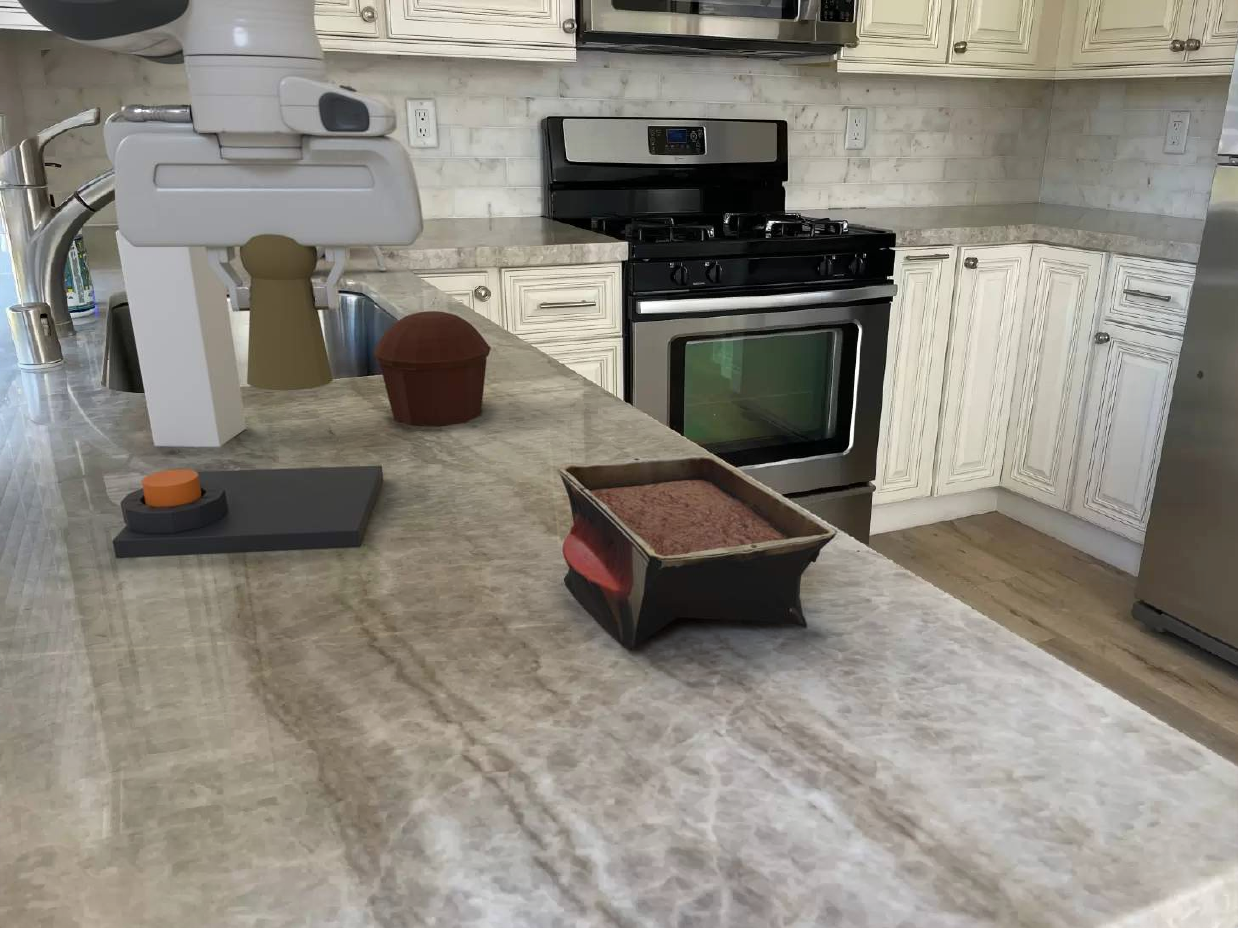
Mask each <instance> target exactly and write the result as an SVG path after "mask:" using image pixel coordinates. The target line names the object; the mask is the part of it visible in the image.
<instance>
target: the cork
mask: <svg viewBox="0 0 1238 928" xmlns="http://www.w3.org/2000/svg"><path fill="white" fill-rule="evenodd" d="M239 257H240V261H241V264H242V268H243V269H244V270H245V271H246V272H247V274H248V275H249V276H250V283H251V288H250V311H249V317H248V318H249V319H248V320H249V323H248V344H247V345H248V347H247V348H248V350H247V373H246V374H247V375H246V376H247V377H246V384H247V385H248V386H250V387H253V388H257V389H259V390H260V389H261V390H267V391H301V390H311V389H315V388H320V387H324V386H326V385H329V384H331V383H332V382H333V381H334V380H333V374H332V369H331V364H330V361H329V360H330V359H329V355H328V351H327V347H326V342H325V337H324V332H323V327H322V323H321V318H320V313H319V310H316V309H315V303H314V302H315V300H316V298H315V297H314V295H313V286H314V285H313V281H312V275H313V274H314V272H315V270H316V268H317V264H318V261H319V260H318V259H317V249H316V246H303V245H300V244H299V243H297V242H296V241H295V240H294V239H293V238H290V237H286V236H283V235H274V234H263V235H258V236H254V237H252V238H251V239H250V240H249V241H248V242H247V243H245V244H244V246H243V247H239ZM317 260H318V261H317Z"/></svg>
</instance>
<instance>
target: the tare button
mask: <svg viewBox="0 0 1238 928" xmlns="http://www.w3.org/2000/svg"><path fill="white" fill-rule="evenodd" d="M197 472H198V471H195V470H194V469H193V470H192V469H184V468H177V469H176V468H175V469H165V470H160V471H156V472H153V473H151V474H147V475H146V476H144V477H143V478H142V479H141V486H142V488H143V491H144V497H145V502H146V505H149V506H155V507H161V506H176V505H181V504H186V503H190V502H192V501H195V500H197V499H199V498H202V494H201V488H200V482H199V476H198V473H197Z"/></svg>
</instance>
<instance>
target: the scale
mask: <svg viewBox="0 0 1238 928" xmlns="http://www.w3.org/2000/svg"><path fill="white" fill-rule="evenodd" d="M196 472H197V473H198V476H199V482H200V488H201V494H202V498H199V499H197V500H195V501H192V502H190V503H186V504H181V505H176V506H161V507H155V506H149V505H146V502H145V497H144V491H143V487H142V488H140V489H136V490H135V491H132V492H129V493H128V494H126V496H125V497H124V498H123V499H122V500H121V501H120V508H121V512H122V519H123V523H124V524H125V526H124V527H123V528H122V529H121V531H119V533H118V534H117V535H116V536H115V537H114V538H113V539H112V540H111V541H112V546H113V551H114V555H115V559H125V558H126V559H129V558H130V559H131V558H150V557H173V556H196V555H197V556H198V555H218V554H241V553H261V552H265V553H266V552H284V551H307V550H330V549H349V548H351V549H353V548H360V547H361V545H362V542H363V539H364V537H365V534H366V531H367V528H368V525H369V522H370V520H371V517H372V513H373V511H374V509H375V505H376V503H377V499H378V497H379V494H380V491H381V489H382V485H383V482H384V473H383V466H382V465H355V466H351V465H350V466H327V467H326V466H325V467H297V468H296V467H293V468H292V467H291V468H265V469H263V468H262V469H237V470H211V471H209V470H207V471H205V470H204V471H196Z"/></svg>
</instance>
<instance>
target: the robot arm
mask: <svg viewBox="0 0 1238 928" xmlns="http://www.w3.org/2000/svg"><path fill="white" fill-rule="evenodd" d="M17 2H18V3H19V4H20V6H21V7H22V8H23V9H24V10H25V11H26V12H27V13H28V14H29V16H31V17H32V18H33V19H34V20H35V21H37V23H39V24H40V25H41V26H43V27H45V28H46V29H48V30H49V31H51V32H53V33H55V34H57V35H59V36H62V37H64V38H66V39H68V40H70V41H72V42H76V43H78V44H81V45H85V46H89V47H93V48H97V49H98V48H99V49H104V50H108V51H111V52H117V53H124V54H132V55H134V56H136V57H139V58H142V59H145V60H147V61H150V62H154V63H156V64H161V65H162V64H163V65H183V64H184V70H185V77H186V82H187V83H186V84H187V89H188V95H189V103H190V104H161V105H145V104H141V103H130V104H125V105H122V107H121V110H117V111H115V112H113V113H111V115H109V117H107V119H106V121H105V123H104V125H103V130H102V132H103V139H104V145H105V151H106V155H107V158H108V161H109V162H110V164H111V166H112V167H113V168H114V199H115V200H114V201H115V213H116V220H117V227H118V230H119V231H120V233H121V235H122V236H123V237H124V238H125V239H126V240H127V241H128V242H129V243H130V244H131V245H133V246H134V247H205V248H206V254H207V261H208V264H209V265H210V267H211V268H212V269H213V271H214V272H215V273H216V274H217V276H218V277H219V278H220V279H221V281H222V282H223V283H224V285H225V288H228V294H229V301H230V308H231V310H232V312H250V288H251V282H250V283H249V282H247V283H245V282H244V281H243V280H242V278H241V277H240V275H239V274H238V272H237V271H236V270H235V268H234V267H233V266H232V264H231V261H233V260H234V259H236V250H235V248H240V247H243V246H244V244H245V243H247V242H248V241H249V240H250V239H251V238H252V237H254V236H258V235H263V234H274V235H283V236H286V237H290V238H293V239H294V240H295V241H296V242H297V243H299V244H300V245H303V246H324V248H325V254H324V256H325V261H326V262H327V263H333V266H332V267H331V269H330V271H329V274H328V276H327V278H326V281H325V282H316V283H315V284H314V285H313V295H314V297H315V299H316V300H315V302H314V303H315V309H316V310H318V311H337V310H338V309H339V308H340V296H339V286H338V284H339V283H340V281H341V279H342V277H343V275H344V272H345V270H346V269H347V267H348V264H349V262H350V260H351V252H350V250H351V249H350V247H368V246H378V247H411V246H413V245H414V244H415V243H416V242H417V241H418V240H419V239H420V238H421V236H422V235H423V233H424V215H423V208H422V202H421V195H420V190H419V184H418V179H417V175H416V171H415V168H414V165H413V161H412V158H411V156H410V153H409V152H408V150H407V149H406V147H405V146H404V145H403V144H402V143H401V142H400V141H399V140H397V139H396V138H393V137H392V136H389V135H391V134H393V133H395V131H396V130H397V127H398V117H397V111H396V109H395V107H394V106H393V105H392V104H391V103H389V102H388V101H385V100H383V99H380V98H378V97H375V96H374V97H373V96H370V95H368V94H365V93H361V92H358V91H357V89H356V88H354V87H352V86H348V85H343V84H342V85H337V84H334V83H331V82H329V78H328V77H327V69H326V61H325V59H326V58H325V55H324V54H325V53H324V50H323V47H322V45H321V43H320V40H319V37H318V33H317V29H316V21H315V7H316V2H317V1H316V0H17ZM121 118H122V119H124V121H117V120H118V119H121Z"/></svg>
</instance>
